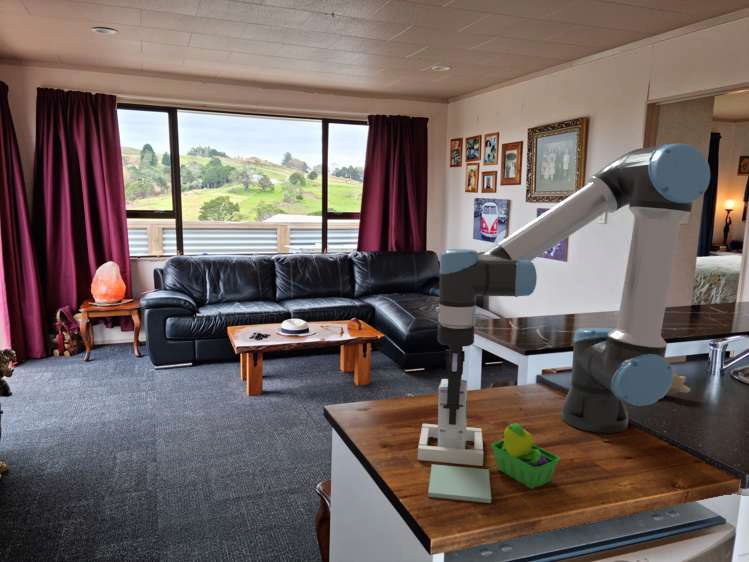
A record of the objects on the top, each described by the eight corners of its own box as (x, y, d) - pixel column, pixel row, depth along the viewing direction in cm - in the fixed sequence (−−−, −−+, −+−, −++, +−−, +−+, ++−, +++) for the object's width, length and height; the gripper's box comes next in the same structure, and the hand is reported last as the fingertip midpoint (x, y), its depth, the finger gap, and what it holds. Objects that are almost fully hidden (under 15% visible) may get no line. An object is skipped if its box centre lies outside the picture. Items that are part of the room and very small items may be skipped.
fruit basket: (560, 483, 106) (564, 426, 104) (527, 495, 101) (531, 436, 100) (515, 459, 115) (518, 406, 114) (483, 469, 111) (486, 415, 109)
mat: (488, 473, 109) (488, 469, 109) (491, 503, 98) (491, 498, 98) (431, 468, 111) (431, 464, 111) (428, 496, 100) (428, 492, 100)
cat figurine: (635, 370, 160) (682, 363, 156) (640, 390, 162) (686, 384, 158) (641, 386, 152) (690, 379, 148) (645, 408, 155) (694, 401, 151)
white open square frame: (480, 439, 125) (481, 428, 125) (482, 465, 112) (483, 454, 112) (422, 434, 127) (422, 423, 127) (417, 459, 114) (418, 448, 114)
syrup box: (464, 456, 116) (467, 388, 114) (436, 453, 117) (438, 386, 115) (465, 444, 122) (468, 379, 120) (438, 441, 123) (440, 377, 121)
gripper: (439, 314, 125) (436, 413, 129) (435, 333, 107) (431, 449, 110) (474, 316, 124) (469, 416, 128) (475, 336, 106) (470, 452, 109)
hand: (452, 431), depth 119 cm, fingers closed on syrup box, 6 cm apart
